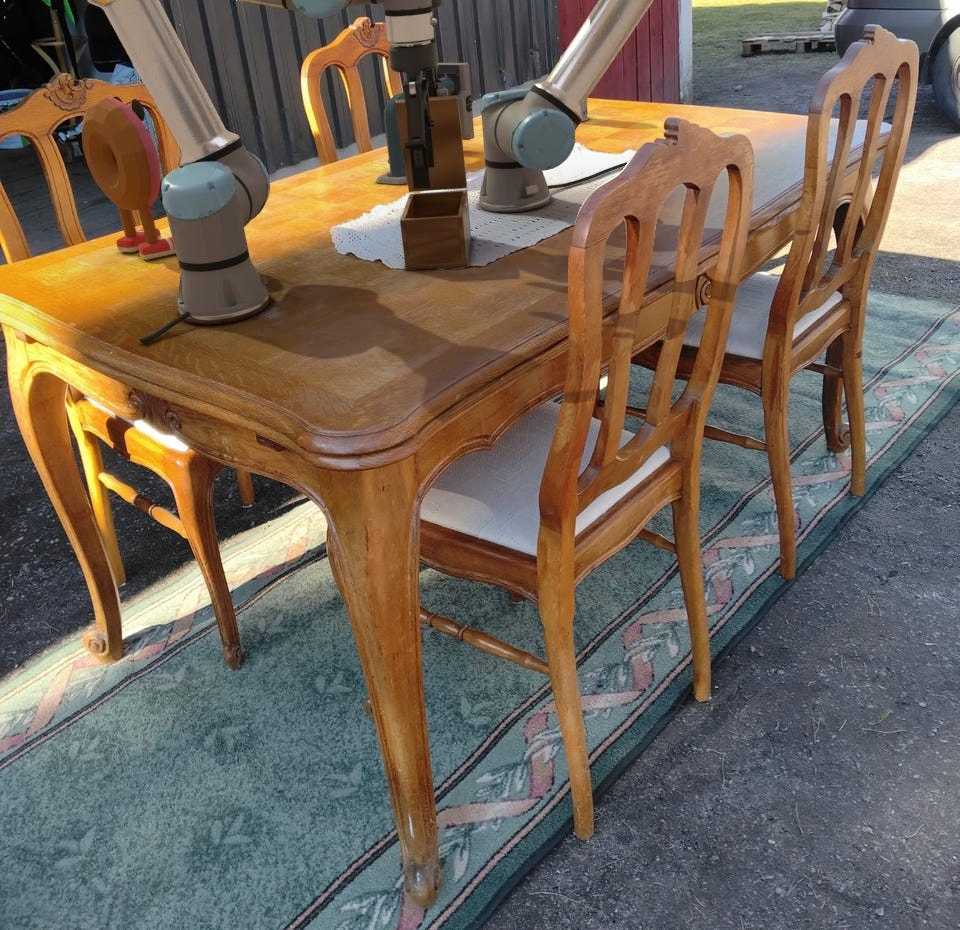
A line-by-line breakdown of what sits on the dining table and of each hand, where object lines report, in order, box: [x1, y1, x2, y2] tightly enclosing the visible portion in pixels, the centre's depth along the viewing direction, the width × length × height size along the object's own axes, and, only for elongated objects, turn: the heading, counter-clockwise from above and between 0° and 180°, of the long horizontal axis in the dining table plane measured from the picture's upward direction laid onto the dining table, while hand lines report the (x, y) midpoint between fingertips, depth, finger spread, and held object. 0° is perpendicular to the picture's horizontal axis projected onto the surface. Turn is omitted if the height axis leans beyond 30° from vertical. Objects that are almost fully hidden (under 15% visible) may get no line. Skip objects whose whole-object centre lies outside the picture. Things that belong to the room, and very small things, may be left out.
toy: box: [81, 95, 177, 260], centre depth 191 cm, size 21×10×30 cm, turn 47°
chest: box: [399, 189, 472, 271], centre depth 181 cm, size 17×11×9 cm, turn 178°
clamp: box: [375, 62, 475, 185], centre depth 238 cm, size 35×9×21 cm, turn 151°
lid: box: [395, 89, 468, 193], centre depth 182 cm, size 18×11×9 cm
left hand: (424, 177), depth 165 cm, fingers open, 13 cm apart
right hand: (433, 122), depth 182 cm, fingers closed on lid, 2 cm apart
